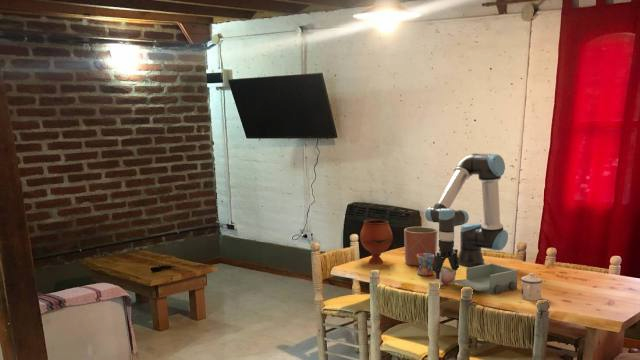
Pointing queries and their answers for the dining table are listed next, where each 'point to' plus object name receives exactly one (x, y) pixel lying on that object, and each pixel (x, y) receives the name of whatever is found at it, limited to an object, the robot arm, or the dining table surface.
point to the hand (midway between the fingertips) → (445, 283)
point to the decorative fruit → (447, 275)
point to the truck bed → (493, 277)
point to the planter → (419, 243)
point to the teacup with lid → (531, 287)
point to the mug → (425, 264)
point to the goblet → (376, 238)
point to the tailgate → (471, 284)
